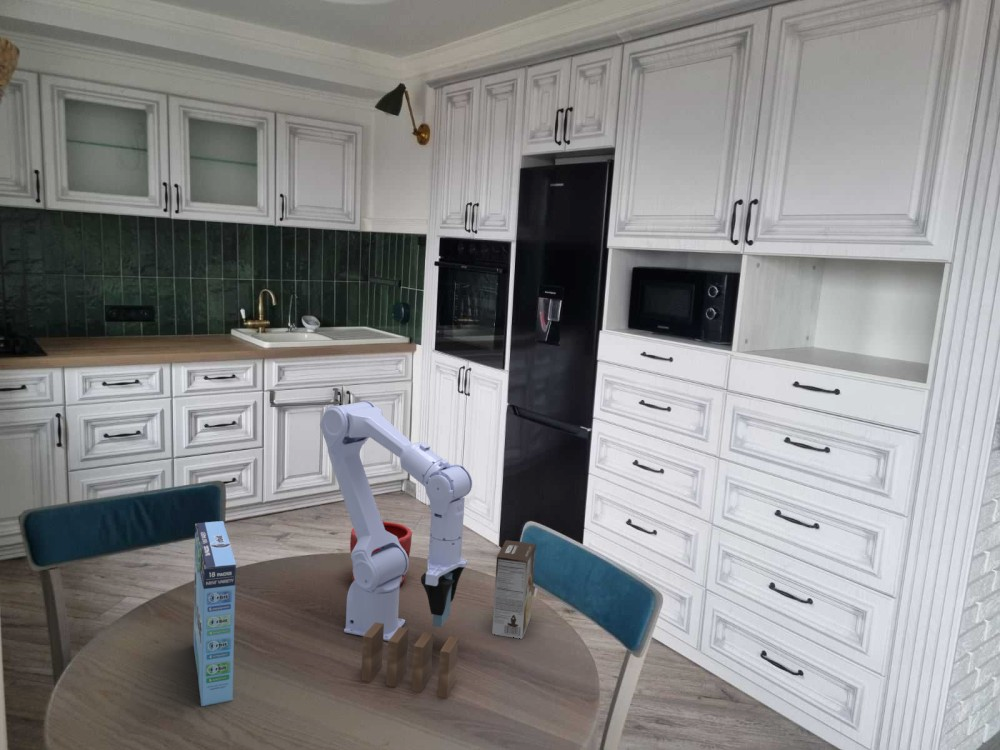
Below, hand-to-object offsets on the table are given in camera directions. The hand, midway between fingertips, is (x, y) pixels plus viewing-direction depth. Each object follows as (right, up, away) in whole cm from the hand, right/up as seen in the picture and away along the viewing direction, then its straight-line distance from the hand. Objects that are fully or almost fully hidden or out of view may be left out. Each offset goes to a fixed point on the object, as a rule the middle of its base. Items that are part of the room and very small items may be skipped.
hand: (442, 607), depth 129 cm
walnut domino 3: (-3, -10, -8) cm, 13 cm away
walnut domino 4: (+2, -11, -9) cm, 14 cm away
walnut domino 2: (-7, -10, -7) cm, 14 cm away
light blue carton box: (-38, -8, -8) cm, 40 cm away
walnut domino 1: (-12, -10, -6) cm, 16 cm away
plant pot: (-16, -4, +29) cm, 34 cm away
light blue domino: (0, -2, 0) cm, 2 cm away
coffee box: (+13, -8, +14) cm, 20 cm away
